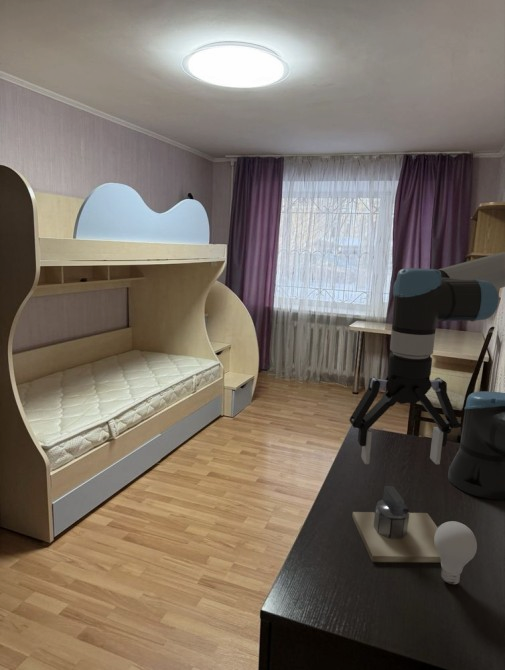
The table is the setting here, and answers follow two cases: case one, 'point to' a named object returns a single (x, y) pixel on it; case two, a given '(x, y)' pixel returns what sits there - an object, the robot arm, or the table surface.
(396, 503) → the dark grey rounded piece
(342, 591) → the table surface
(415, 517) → the socket base
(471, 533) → the light bulb
